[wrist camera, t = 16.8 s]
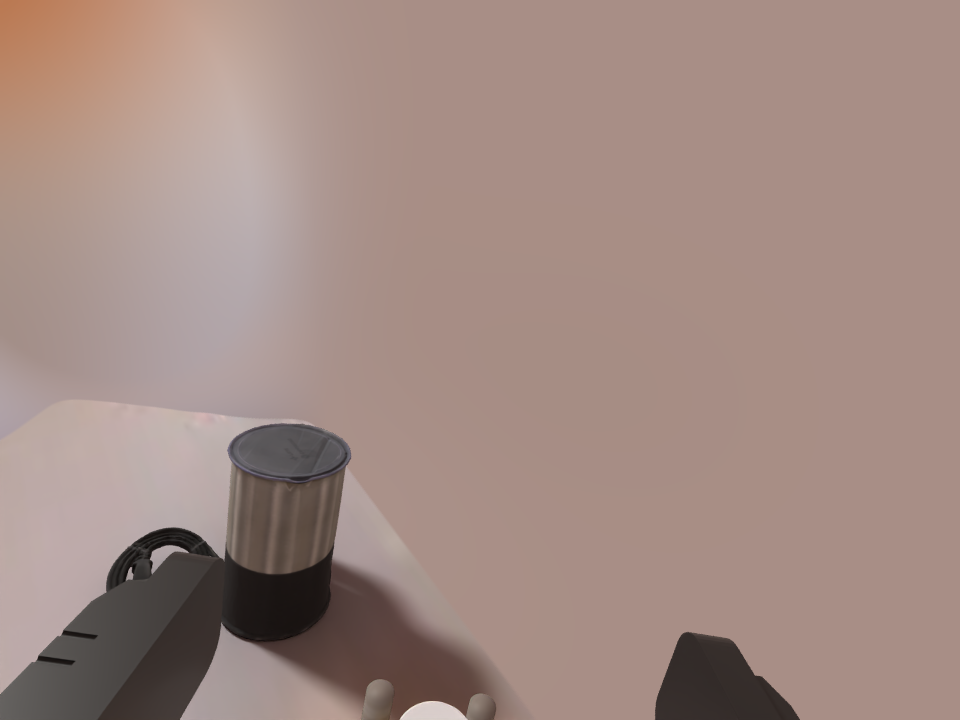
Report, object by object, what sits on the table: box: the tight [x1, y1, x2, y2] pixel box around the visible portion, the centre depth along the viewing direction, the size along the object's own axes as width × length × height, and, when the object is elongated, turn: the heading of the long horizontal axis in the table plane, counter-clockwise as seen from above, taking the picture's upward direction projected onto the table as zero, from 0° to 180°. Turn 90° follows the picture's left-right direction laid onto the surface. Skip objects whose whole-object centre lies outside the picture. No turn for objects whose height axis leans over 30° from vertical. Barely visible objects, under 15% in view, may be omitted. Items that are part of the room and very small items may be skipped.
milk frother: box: [106, 423, 351, 640], centre depth 42 cm, size 14×16×15 cm
